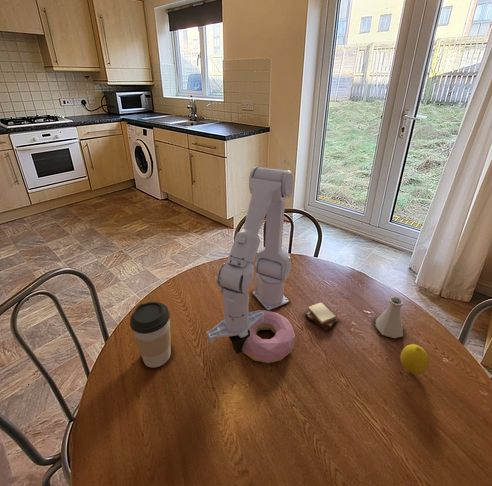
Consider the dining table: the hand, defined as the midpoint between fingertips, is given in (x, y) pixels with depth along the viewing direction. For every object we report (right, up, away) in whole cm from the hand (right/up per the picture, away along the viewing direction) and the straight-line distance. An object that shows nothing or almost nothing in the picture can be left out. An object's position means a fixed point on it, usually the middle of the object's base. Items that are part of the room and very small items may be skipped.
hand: (237, 350), depth 73 cm
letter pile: (+24, +4, +12) cm, 27 cm away
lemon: (+41, -3, -3) cm, 42 cm away
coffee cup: (-20, -2, +1) cm, 21 cm away
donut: (+8, 0, +5) cm, 9 cm away
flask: (+42, +2, +8) cm, 43 cm away
